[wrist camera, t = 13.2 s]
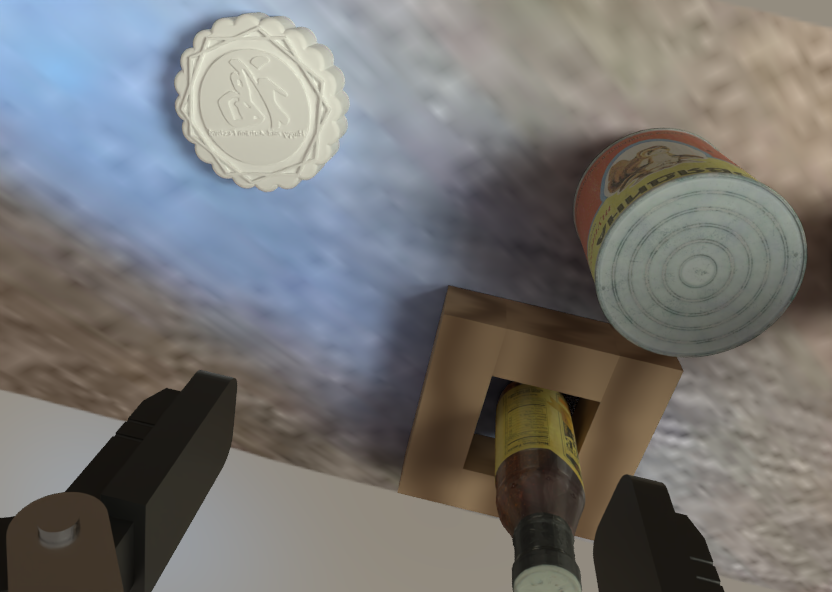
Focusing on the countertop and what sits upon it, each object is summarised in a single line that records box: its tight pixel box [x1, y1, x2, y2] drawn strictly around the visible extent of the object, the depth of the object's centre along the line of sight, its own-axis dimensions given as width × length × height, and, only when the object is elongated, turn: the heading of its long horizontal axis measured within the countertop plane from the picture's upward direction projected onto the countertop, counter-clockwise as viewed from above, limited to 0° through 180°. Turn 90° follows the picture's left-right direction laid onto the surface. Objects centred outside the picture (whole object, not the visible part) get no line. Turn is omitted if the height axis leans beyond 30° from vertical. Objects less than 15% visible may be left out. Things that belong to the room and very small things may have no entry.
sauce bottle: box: [495, 381, 585, 592], centre depth 46 cm, size 6×6×20 cm
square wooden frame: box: [398, 285, 683, 540], centre depth 53 cm, size 18×18×5 cm
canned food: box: [573, 128, 807, 357], centre depth 41 cm, size 11×11×12 cm
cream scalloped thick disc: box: [174, 12, 350, 192], centre depth 45 cm, size 12×12×4 cm
